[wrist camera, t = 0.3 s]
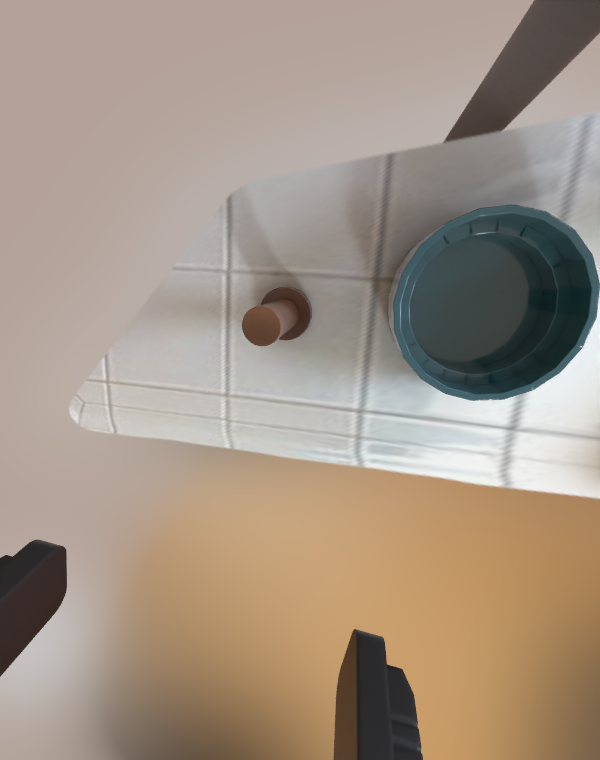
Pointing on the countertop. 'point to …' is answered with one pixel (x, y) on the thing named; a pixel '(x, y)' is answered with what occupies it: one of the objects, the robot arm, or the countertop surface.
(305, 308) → the brown wooden peg
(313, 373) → the countertop surface
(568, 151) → the countertop surface
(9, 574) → the robot arm
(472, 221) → the bowl
